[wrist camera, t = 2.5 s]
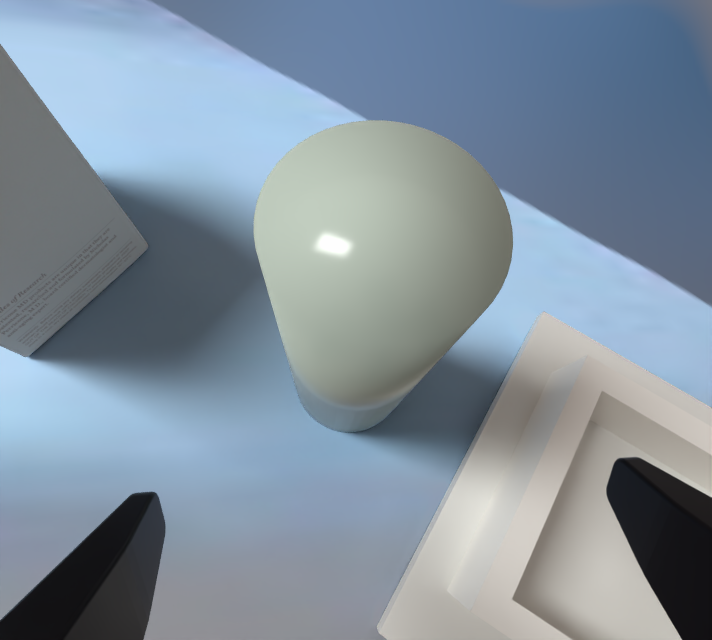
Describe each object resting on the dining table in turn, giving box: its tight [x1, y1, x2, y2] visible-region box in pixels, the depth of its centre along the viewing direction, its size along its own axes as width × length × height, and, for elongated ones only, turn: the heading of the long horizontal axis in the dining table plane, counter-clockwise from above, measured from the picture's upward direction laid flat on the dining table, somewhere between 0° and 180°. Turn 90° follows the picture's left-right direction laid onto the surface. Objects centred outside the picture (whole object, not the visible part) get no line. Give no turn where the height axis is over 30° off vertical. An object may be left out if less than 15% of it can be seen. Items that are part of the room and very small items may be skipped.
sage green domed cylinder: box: [254, 120, 513, 432], centre depth 15 cm, size 5×5×13 cm
